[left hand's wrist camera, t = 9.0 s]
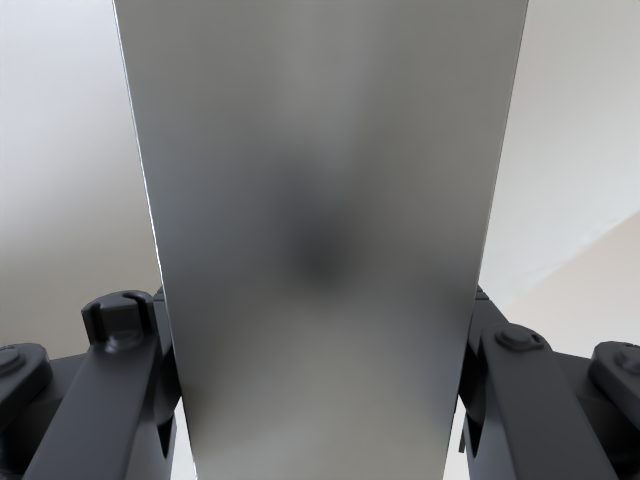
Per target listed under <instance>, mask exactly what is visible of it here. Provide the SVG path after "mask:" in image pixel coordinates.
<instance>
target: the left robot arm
mask: <svg viewBox="0 0 640 480" xmlns="http://www.w3.org/2000/svg"><path fill="white" fill-rule="evenodd" d="M81 313H82V317H83V320H84V324H85V328H86V331H87V335H88V338H89V342H90V347H89V349H88V351H87V353H84V354H80V355H76V356H70V357H65V358H60V359H55V360H50V361H49V358H48V355H47V352H46V349H45V348H44V347H42V346H41V345H40V344H33V343H24V344H14V345H9V346H7V347H6V346H5V347H2V348H0V480H170V477H171V469H172V461H173V453H174V445H175V438H176V430H177V426H176V419H175V413H174V410H175V408H176V406H177V403H178V401H179V399H180V397H181V396H182V395H181V389H180V383H179V378H178V372H177V366H176V361H175V355H174V349H173V344H172V338H171V332H170V327H169V321H168V315H167V310H166V304H165V298H164V292H163V287H162V286H161V288H160V289H159V290H158V291H157V294H155V295H154V296H153V297H152V296H151V295H149V294H148V293H147V292H142V291H138V290H132V291H121V292H115V293H111V294H108V295H105V296H102V297H100V298H97V299H96V300H94V301H92V302H90V303H89V304H87V305H86V306H85V307H84V308H83V309H82V310H81ZM458 395H460V398H461V400H462V402H463V404H464V406H465V408H466V413H465V419H464V424H463V429H462V434H461V440H460V445H459V452H460V453H464V449H465V445H466V452H467V460H468V468H469V475H470V480H640V346H638V345H633V344H630V343H626V342H615V341H608V342H601V343H600V344H598V345H597V346H596V347H595V348H594V352H593V354H592V357H591V359H589V358H583V357H578V356H573V355H568V354H563V353H558V352H554V351H553V350H552V349H551V347H550V345H549V344H548V342H547V341H546V340H545V339H544V338H543V337H542V336H541V335H539V334H538V333H536V332H535V331H533V330H531V329H528V328H526V327H524V326H521V325H517V324H513V323H509V322H508V320H507V319H506V318H505V317H504V316H503V314H502V313H501V312H500V311H499V309H498V308H497V307H496V306H495V305H494V303H493V302H492V301H491V300H489V297H488V296H487V295H486V294H485V292H483V290H482V289H481V288H480V286H479V285H477V290H476V296H475V302H474V307H473V313H472V318H471V324H470V329H469V335H468V341H467V346H466V352H465V357H464V363H463V369H462V374H461V380H460V385H459V391H458ZM457 400H458V396H457ZM182 402H183V400H182ZM456 406H457V402H456ZM183 408H184V406H183ZM455 412H456V408H455ZM184 413H185V412H184Z"/></svg>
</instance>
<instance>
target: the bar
mask: <svg viewBox="0 0 640 480" xmlns="http://www.w3.org/2000/svg"><path fill="white" fill-rule="evenodd" d="M112 3H113V8H114V14H115V20H116V25H117V31H118V37H119V42H120V48H121V54H122V60H123V65H124V71H125V77H126V82H127V88H128V94H129V99H130V105H131V111H132V116H133V122H134V128H135V133H136V139H137V145H138V150H139V156H140V162H141V167H142V173H143V179H144V185H145V190H146V196H147V202H148V207H149V213H150V219H151V224H152V230H153V236H154V241H155V247H156V253H157V258H158V264H159V270H160V275H161V281H162V287H163V292H164V298H165V304H166V310H167V315H168V321H169V327H170V332H171V338H172V344H173V349H174V355H175V361H176V366H177V372H178V378H179V383H180V389H181V395H182V400H183V406H184V412H185V417H186V423H187V429H188V435H189V440H190V446H191V452H192V457H193V463H194V469H195V474H196V480H443V474H444V469H445V463H446V458H447V452H448V447H449V441H450V435H451V430H452V424H453V419H454V413H455V408H456V402H457V396H458V391H459V385H460V380H461V374H462V369H463V363H464V357H465V352H466V346H467V341H468V335H469V329H470V324H471V318H472V313H473V307H474V302H475V296H476V290H477V285H478V279H479V274H480V268H481V263H482V257H483V251H484V246H485V240H486V235H487V229H488V224H489V218H490V212H491V207H492V201H493V196H494V190H495V184H496V179H497V173H498V168H499V162H500V157H501V151H502V145H503V140H504V134H505V129H506V123H507V118H508V112H509V106H510V101H511V95H512V90H513V84H514V79H515V73H516V67H517V62H518V56H519V51H520V45H521V39H522V34H523V28H524V23H525V17H526V12H527V6H528V0H112Z"/></svg>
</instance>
